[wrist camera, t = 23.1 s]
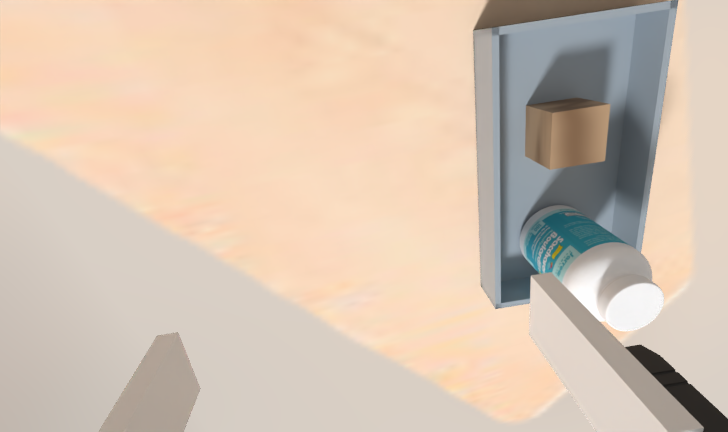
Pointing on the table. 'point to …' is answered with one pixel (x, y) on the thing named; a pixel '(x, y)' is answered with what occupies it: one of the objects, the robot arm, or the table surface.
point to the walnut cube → (566, 132)
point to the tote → (558, 82)
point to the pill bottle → (593, 266)
